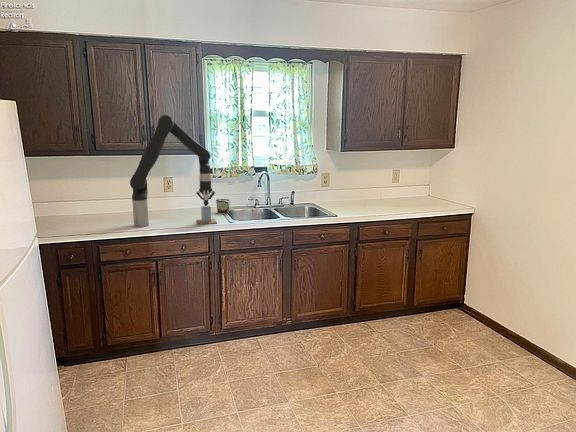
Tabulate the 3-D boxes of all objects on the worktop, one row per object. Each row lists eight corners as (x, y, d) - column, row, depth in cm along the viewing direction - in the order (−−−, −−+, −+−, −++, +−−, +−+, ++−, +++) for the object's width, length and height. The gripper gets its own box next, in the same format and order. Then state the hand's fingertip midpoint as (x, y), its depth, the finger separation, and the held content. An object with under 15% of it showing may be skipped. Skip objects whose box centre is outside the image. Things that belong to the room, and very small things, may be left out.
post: (199, 224, 289) (198, 213, 287) (196, 220, 300) (196, 209, 298) (217, 223, 293) (216, 212, 291) (213, 219, 304) (213, 208, 302)
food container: (234, 213, 325) (233, 199, 323) (228, 214, 320) (228, 201, 318) (221, 211, 332) (221, 198, 330) (216, 212, 327) (215, 199, 325)
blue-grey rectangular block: (202, 222, 292) (202, 207, 290) (201, 220, 298) (201, 206, 295) (211, 221, 294) (210, 207, 292) (209, 219, 299) (209, 205, 297)
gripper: (196, 181, 284) (197, 207, 288) (216, 180, 288) (216, 206, 292) (194, 179, 291) (195, 205, 295) (214, 178, 295) (214, 203, 299)
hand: (206, 205), depth 294 cm, fingers closed
